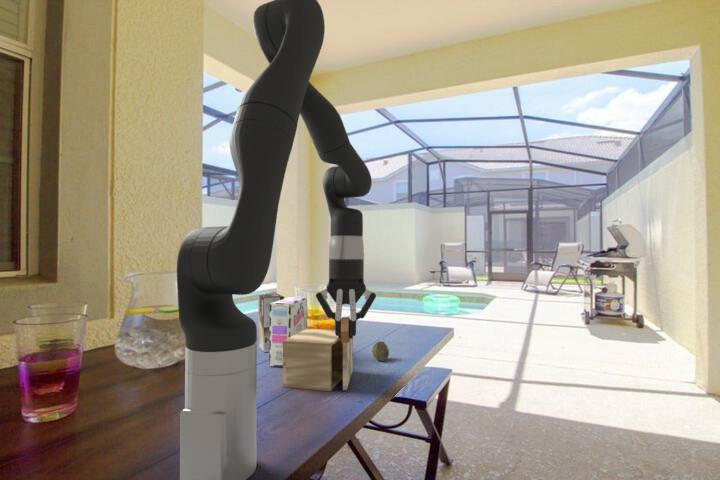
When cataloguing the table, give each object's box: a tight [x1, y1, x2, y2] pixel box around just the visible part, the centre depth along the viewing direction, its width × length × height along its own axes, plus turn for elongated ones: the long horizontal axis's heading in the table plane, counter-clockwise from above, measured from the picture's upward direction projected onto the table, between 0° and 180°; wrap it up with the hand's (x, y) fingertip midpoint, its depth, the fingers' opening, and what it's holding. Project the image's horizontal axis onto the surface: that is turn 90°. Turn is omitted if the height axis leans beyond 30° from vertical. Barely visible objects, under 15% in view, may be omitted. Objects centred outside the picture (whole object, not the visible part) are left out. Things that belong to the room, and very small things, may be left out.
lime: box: [371, 341, 390, 362], centre depth 110 cm, size 4×5×5 cm
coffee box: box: [257, 293, 285, 353], centre depth 123 cm, size 9×6×16 cm
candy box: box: [268, 296, 308, 368], centre depth 110 cm, size 14×6×16 cm, turn 168°
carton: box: [282, 328, 343, 392], centre depth 94 cm, size 14×11×10 cm
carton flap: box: [341, 316, 354, 391], centre depth 92 cm, size 14×2×15 cm, turn 176°
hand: (345, 337), depth 87 cm, fingers closed on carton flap, 2 cm apart
